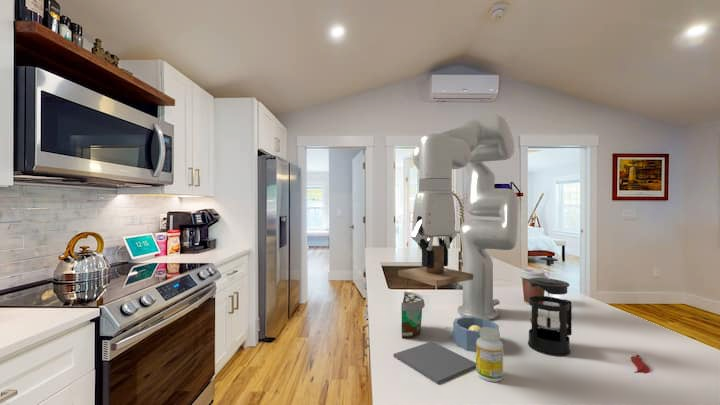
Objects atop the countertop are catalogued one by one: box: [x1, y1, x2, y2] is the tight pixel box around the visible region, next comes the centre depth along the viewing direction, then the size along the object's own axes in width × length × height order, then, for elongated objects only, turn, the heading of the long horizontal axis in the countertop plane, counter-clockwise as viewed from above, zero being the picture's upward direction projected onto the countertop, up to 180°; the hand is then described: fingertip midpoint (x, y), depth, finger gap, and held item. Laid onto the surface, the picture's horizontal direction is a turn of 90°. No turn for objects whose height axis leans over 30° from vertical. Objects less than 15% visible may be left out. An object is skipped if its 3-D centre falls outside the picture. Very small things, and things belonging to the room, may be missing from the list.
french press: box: [527, 256, 573, 357], centre depth 81 cm, size 12×9×23 cm
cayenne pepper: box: [630, 353, 651, 374], centre depth 72 cm, size 12×5×2 cm, turn 124°
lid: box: [397, 244, 473, 287], centre depth 73 cm, size 12×12×7 cm
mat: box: [393, 341, 476, 385], centre depth 73 cm, size 13×14×1 cm
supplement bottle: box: [475, 327, 504, 383], centre depth 67 cm, size 5×5×10 cm
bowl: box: [452, 316, 500, 353], centre depth 83 cm, size 11×11×5 cm
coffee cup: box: [519, 268, 548, 306], centre depth 118 cm, size 9×9×12 cm
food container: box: [401, 291, 426, 340], centre depth 90 cm, size 12×6×10 cm, turn 168°
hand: (434, 265), depth 73 cm, fingers closed on lid, 4 cm apart
